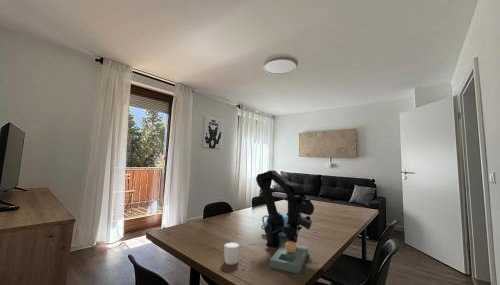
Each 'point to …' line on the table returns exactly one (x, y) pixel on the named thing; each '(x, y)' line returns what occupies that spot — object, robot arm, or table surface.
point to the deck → (289, 259)
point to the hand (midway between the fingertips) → (294, 244)
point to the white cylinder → (231, 252)
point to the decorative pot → (283, 219)
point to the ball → (290, 247)
